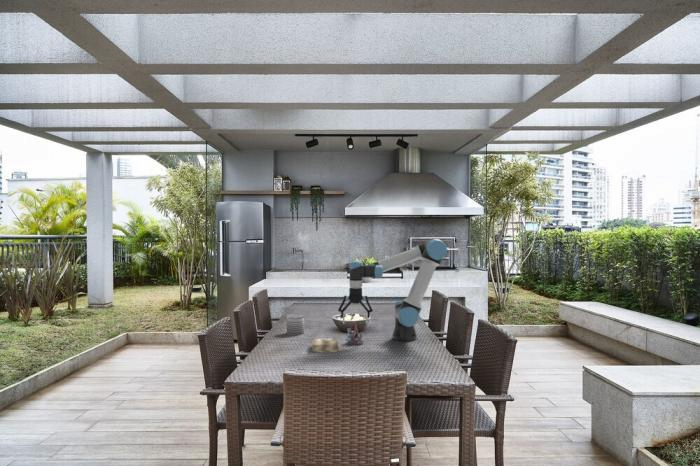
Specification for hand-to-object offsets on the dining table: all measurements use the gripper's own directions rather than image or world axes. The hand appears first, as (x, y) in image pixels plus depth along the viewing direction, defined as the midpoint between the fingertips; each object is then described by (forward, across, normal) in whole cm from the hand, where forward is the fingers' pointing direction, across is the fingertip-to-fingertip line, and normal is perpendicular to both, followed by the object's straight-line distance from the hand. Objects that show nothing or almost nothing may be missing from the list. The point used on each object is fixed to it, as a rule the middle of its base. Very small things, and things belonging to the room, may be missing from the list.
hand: (355, 323), depth 282 cm
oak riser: (+12, +17, +13) cm, 25 cm away
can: (+12, +36, -30) cm, 49 cm away
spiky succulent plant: (+12, 0, 0) cm, 12 cm away
